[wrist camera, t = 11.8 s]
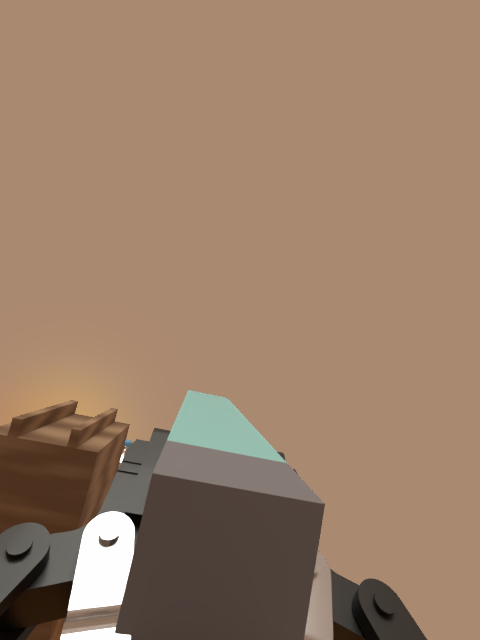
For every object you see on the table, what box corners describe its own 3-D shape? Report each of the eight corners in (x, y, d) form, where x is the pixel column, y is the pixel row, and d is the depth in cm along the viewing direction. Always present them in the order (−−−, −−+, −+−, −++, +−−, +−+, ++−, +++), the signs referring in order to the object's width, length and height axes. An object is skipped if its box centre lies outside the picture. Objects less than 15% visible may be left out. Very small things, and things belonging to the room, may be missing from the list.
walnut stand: (-16, 879, 26) (102, 434, 31) (-156, 870, 25) (-11, 413, 30) (60, 698, 39) (132, 412, 44) (-29, 688, 38) (56, 397, 43)
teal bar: (280, 791, 6) (324, 504, 7) (80, 773, 6) (152, 473, 7) (215, 454, 30) (227, 398, 30) (175, 446, 29) (188, 390, 30)
